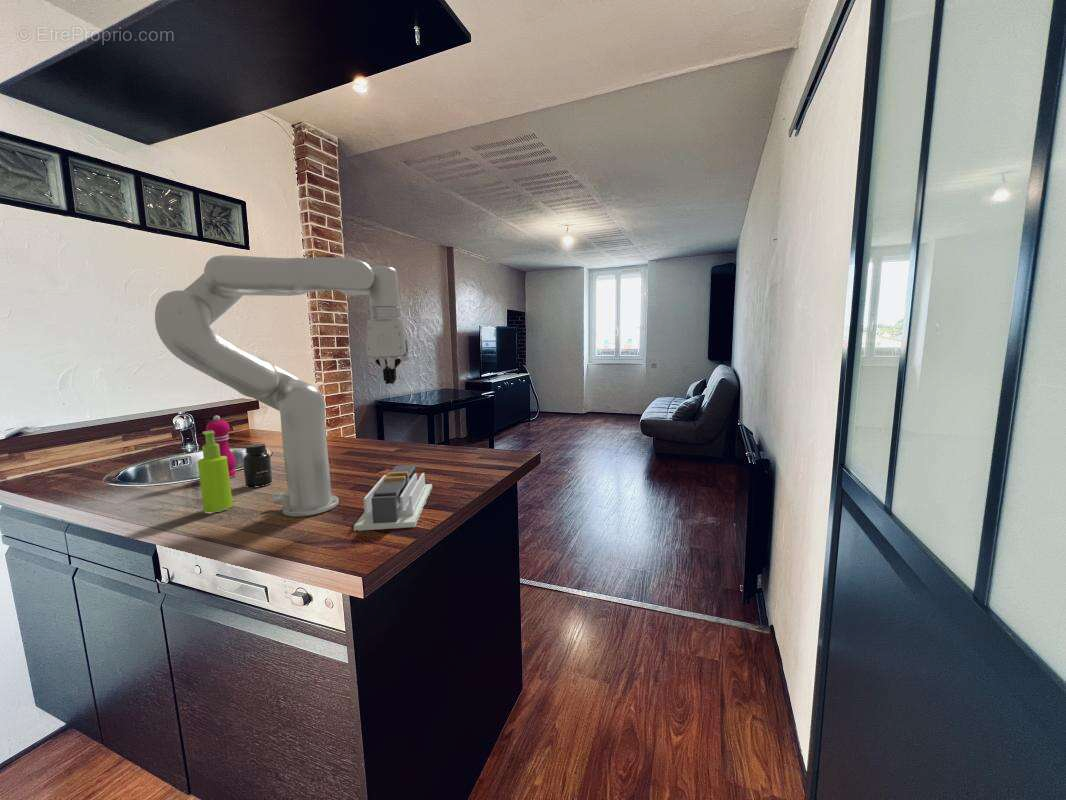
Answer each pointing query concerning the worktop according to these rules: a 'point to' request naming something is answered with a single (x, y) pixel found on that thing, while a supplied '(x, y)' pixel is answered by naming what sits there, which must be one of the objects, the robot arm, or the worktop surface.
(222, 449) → the pepper mill
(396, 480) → the grey flat block
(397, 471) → the grey green rectangular plate
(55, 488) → the worktop surface
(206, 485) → the soap dispenser
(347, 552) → the worktop surface
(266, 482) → the supplement bottle
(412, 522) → the heatsink board
